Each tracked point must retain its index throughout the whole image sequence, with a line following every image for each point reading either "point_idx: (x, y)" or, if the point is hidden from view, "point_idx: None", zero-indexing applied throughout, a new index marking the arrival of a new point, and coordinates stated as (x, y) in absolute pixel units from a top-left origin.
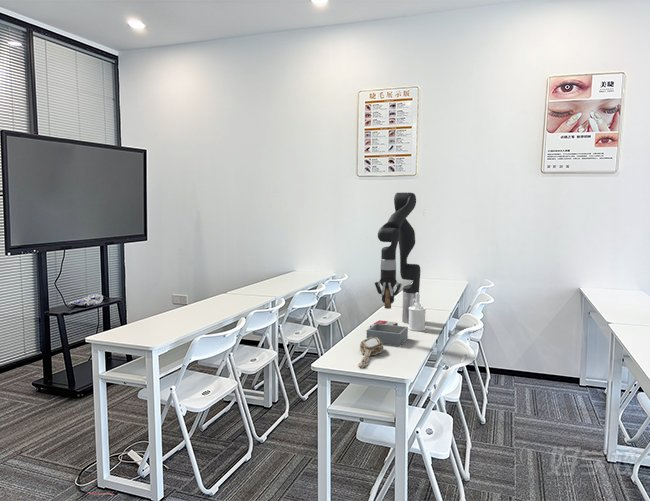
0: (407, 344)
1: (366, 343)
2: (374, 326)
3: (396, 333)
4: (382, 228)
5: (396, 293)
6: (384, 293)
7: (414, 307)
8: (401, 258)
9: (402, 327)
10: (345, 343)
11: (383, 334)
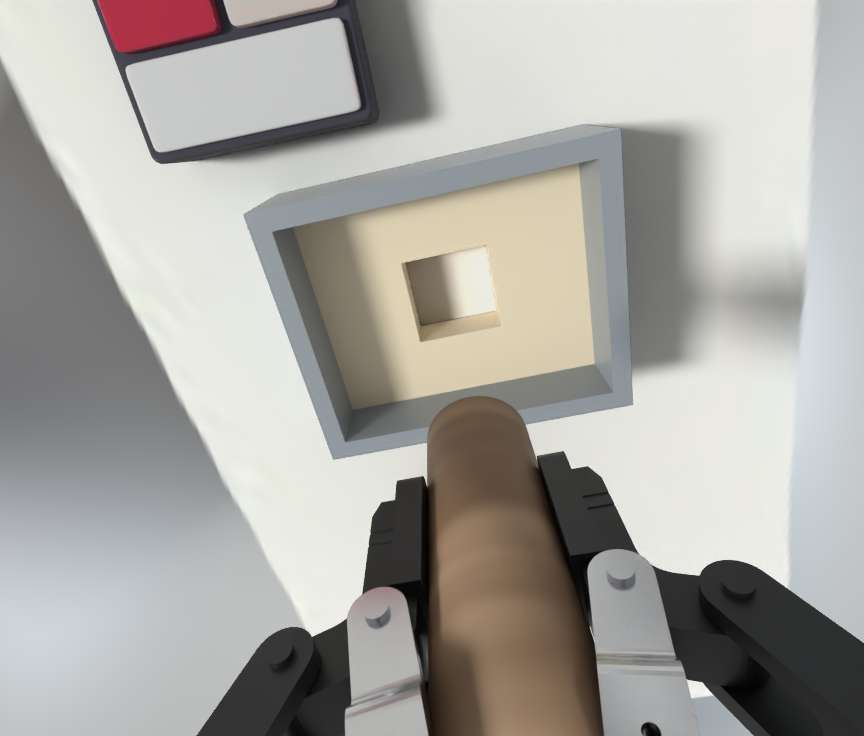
0: (635, 285)
1: None
2: (299, 305)
3: (596, 406)
4: None
5: (767, 683)
6: (425, 667)
7: None
8: None
9: (563, 165)
10: (258, 497)
11: None
